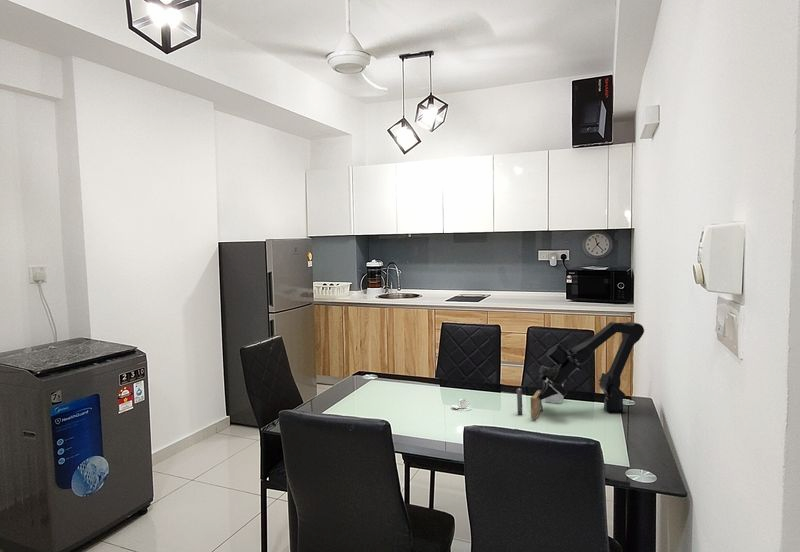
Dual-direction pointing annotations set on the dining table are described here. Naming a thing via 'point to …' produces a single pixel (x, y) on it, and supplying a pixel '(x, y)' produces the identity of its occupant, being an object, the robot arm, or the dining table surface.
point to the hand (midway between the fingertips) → (539, 398)
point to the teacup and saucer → (461, 404)
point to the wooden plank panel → (535, 404)
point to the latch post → (519, 401)
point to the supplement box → (555, 398)
